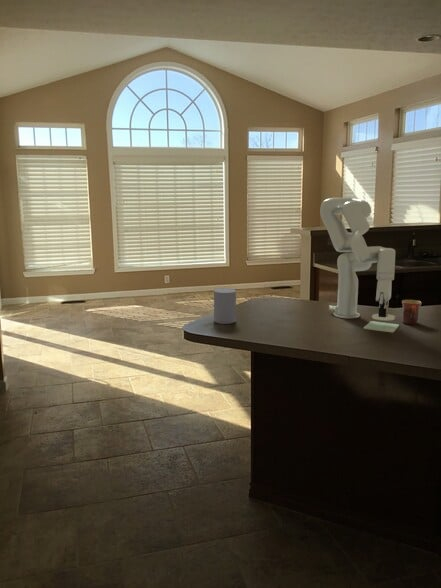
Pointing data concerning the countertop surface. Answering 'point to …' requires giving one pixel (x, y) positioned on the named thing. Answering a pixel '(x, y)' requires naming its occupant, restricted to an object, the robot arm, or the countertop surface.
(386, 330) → the mat
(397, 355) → the countertop surface
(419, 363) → the countertop surface
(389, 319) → the lid
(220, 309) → the container
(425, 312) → the countertop surface
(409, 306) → the mug
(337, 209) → the robot arm
